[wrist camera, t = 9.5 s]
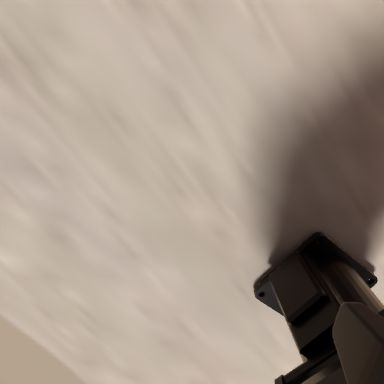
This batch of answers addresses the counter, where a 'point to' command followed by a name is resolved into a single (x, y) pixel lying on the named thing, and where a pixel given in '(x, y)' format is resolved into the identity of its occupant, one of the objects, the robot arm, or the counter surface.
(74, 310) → the counter surface
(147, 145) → the counter surface
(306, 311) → the robot arm
